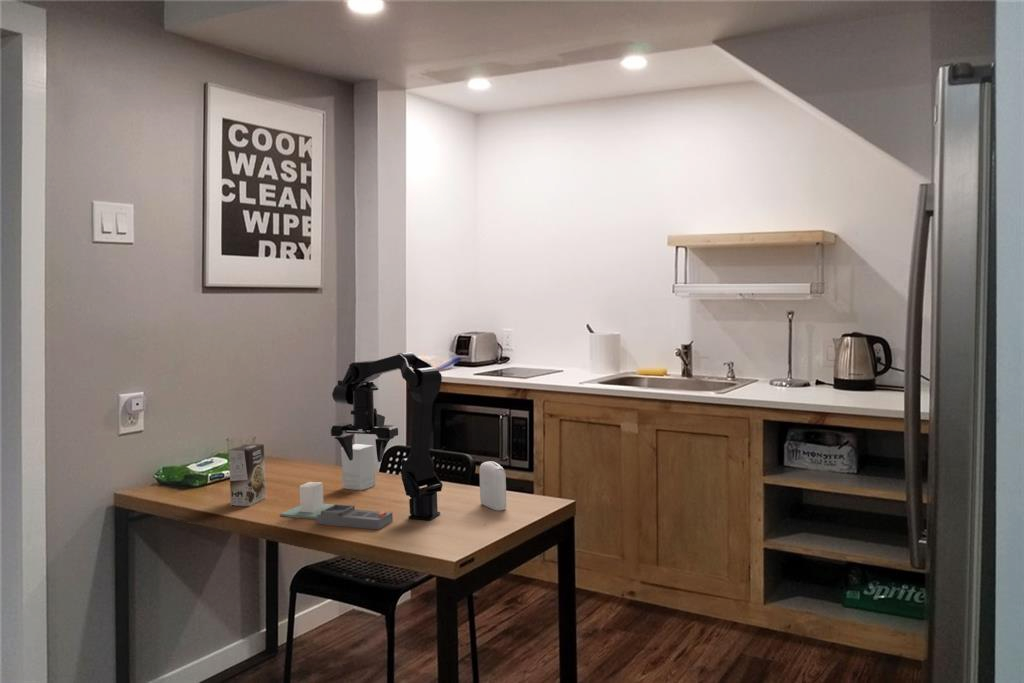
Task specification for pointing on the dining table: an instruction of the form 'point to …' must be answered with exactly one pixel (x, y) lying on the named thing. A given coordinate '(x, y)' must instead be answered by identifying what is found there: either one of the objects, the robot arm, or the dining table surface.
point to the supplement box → (359, 468)
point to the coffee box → (247, 474)
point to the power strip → (354, 517)
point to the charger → (311, 497)
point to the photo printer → (492, 485)
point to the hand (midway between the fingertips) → (365, 461)
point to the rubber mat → (298, 514)
